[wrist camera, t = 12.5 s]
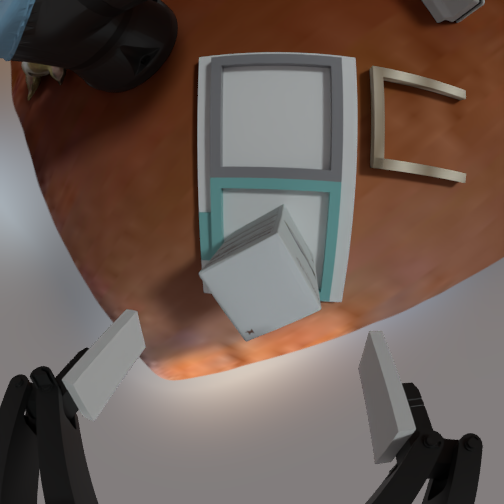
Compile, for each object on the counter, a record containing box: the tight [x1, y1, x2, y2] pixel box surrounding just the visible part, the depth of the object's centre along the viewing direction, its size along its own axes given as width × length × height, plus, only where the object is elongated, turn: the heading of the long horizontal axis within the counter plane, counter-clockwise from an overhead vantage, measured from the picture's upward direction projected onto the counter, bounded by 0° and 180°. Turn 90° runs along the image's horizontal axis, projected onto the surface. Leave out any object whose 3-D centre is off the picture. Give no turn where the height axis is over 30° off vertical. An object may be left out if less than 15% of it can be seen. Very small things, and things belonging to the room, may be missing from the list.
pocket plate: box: [197, 52, 357, 302], centre depth 30 cm, size 18×30×2 cm, turn 0°
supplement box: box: [199, 204, 321, 341], centre depth 27 cm, size 7×7×13 cm
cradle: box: [370, 66, 466, 183], centre depth 25 cm, size 13×12×2 cm
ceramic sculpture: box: [22, 62, 66, 100], centre depth 24 cm, size 11×9×15 cm
